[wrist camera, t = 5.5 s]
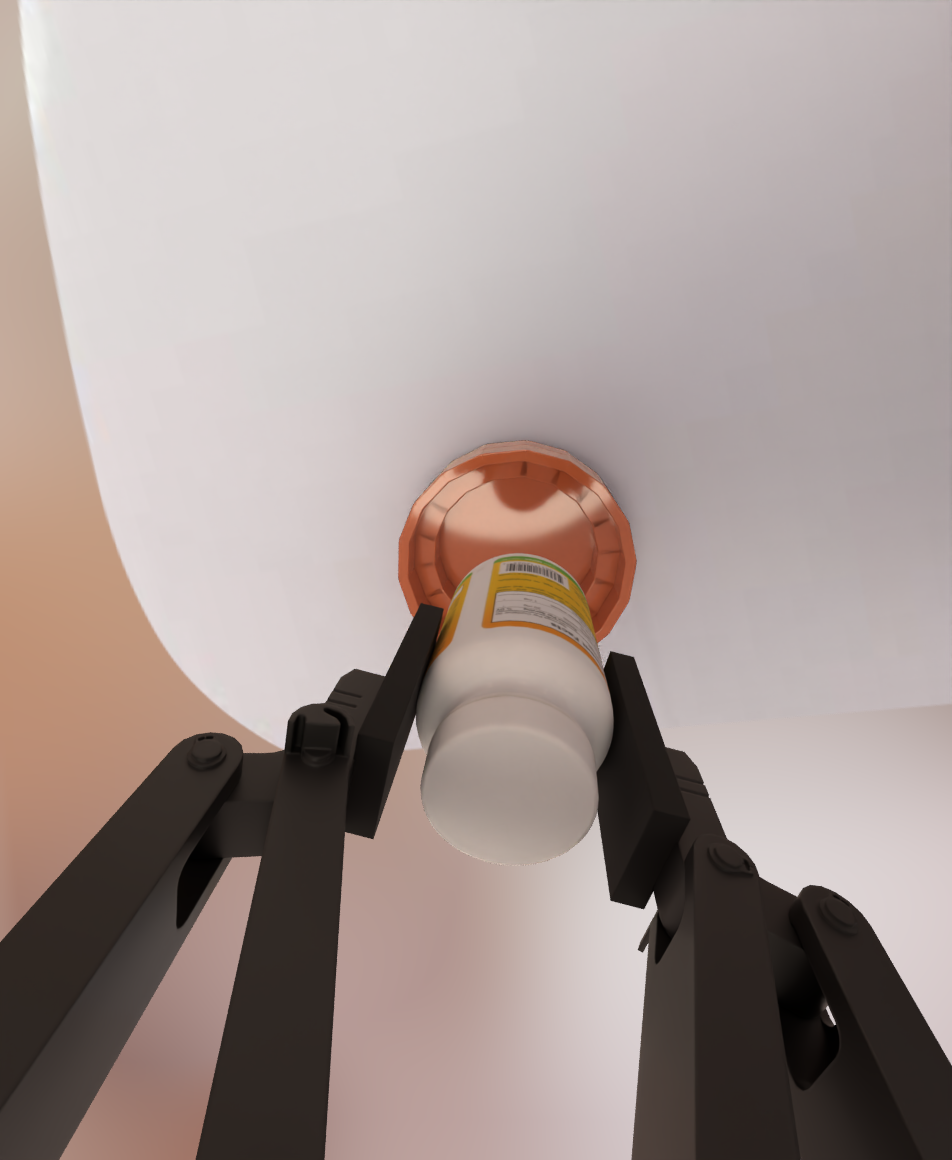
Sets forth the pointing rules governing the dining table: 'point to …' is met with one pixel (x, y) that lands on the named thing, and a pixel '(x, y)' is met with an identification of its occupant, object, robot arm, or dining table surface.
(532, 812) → the supplement bottle
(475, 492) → the bowl
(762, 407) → the dining table surface
